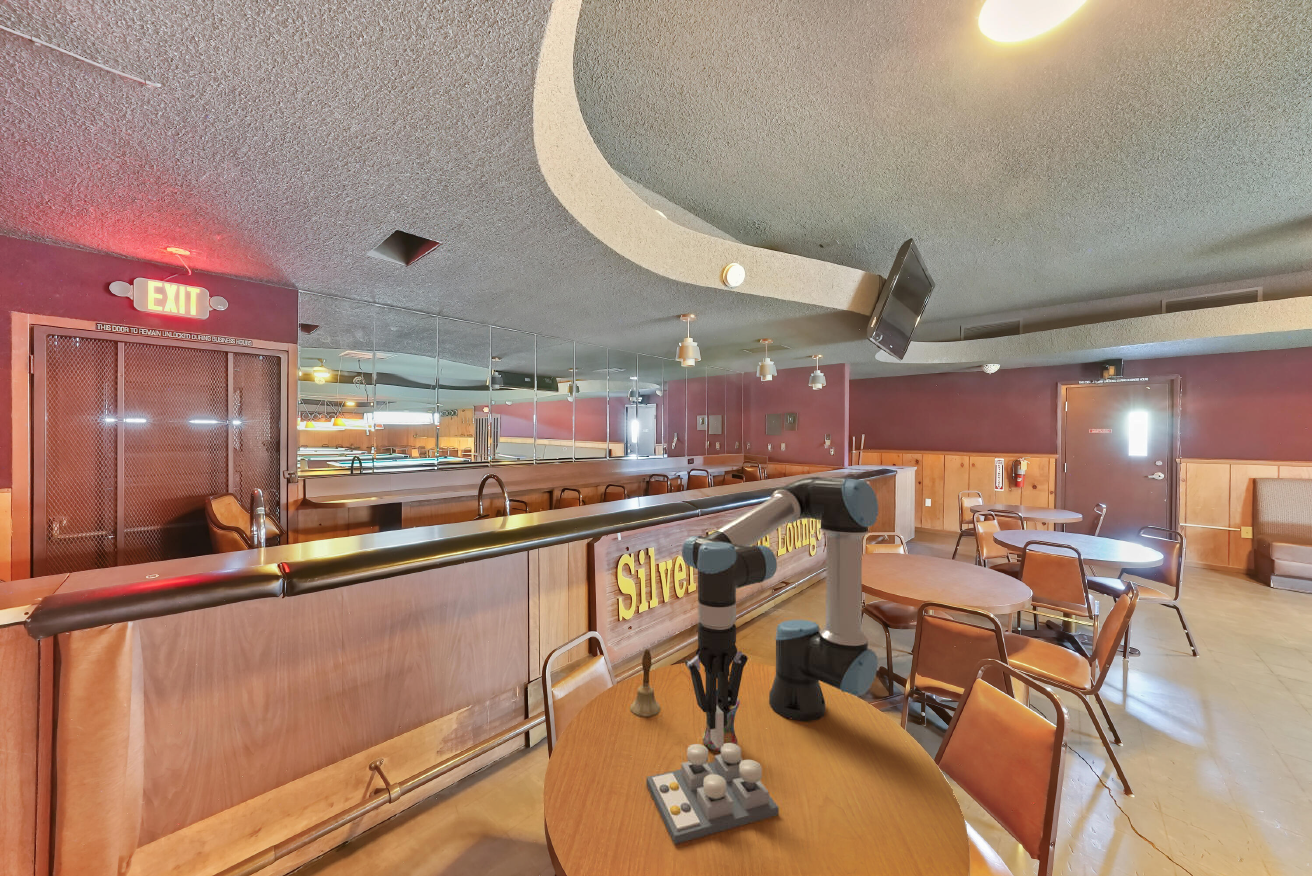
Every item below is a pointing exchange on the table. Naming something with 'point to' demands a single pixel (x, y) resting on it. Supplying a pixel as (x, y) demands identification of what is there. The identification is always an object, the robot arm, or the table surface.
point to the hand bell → (645, 692)
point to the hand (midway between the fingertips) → (716, 742)
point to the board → (707, 801)
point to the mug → (728, 729)
